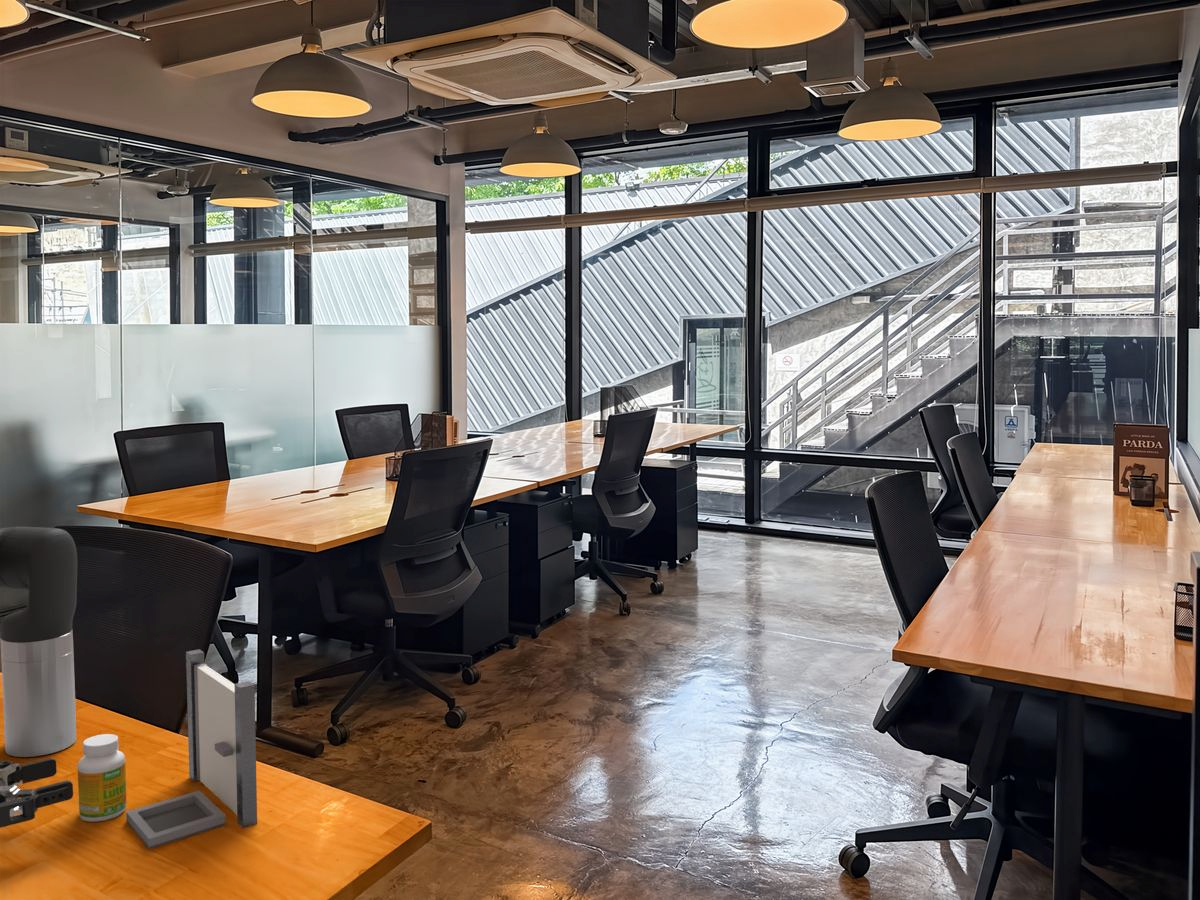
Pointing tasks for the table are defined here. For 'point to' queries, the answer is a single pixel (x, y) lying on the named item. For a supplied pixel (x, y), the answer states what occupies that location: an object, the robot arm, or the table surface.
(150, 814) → the shallow tray
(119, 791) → the supplement bottle
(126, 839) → the table surface
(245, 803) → the door frame
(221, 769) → the door
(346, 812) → the table surface
